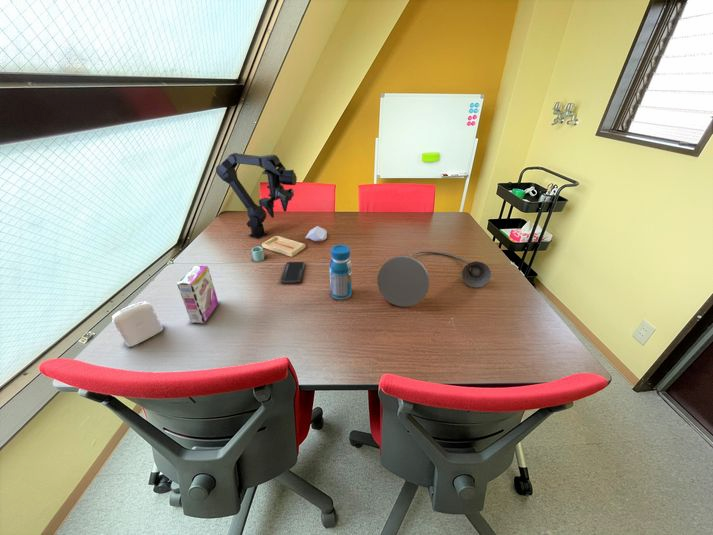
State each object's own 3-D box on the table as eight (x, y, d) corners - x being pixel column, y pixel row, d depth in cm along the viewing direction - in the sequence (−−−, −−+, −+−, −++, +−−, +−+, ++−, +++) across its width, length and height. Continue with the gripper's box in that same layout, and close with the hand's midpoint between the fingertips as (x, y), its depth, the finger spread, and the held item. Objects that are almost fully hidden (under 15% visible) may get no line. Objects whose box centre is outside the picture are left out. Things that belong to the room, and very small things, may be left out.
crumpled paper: (322, 245, 146) (328, 234, 156) (322, 233, 142) (328, 222, 153) (305, 244, 146) (312, 232, 157) (304, 232, 143) (311, 221, 154)
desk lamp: (489, 327, 97) (374, 300, 108) (480, 287, 138) (397, 270, 149) (503, 275, 91) (380, 252, 103) (489, 249, 133) (403, 235, 144)
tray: (262, 247, 143) (261, 243, 142) (276, 239, 151) (276, 235, 150) (291, 256, 135) (291, 253, 134) (305, 247, 143) (305, 243, 142)
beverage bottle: (335, 302, 108) (334, 256, 97) (327, 290, 114) (324, 246, 103) (355, 296, 111) (356, 251, 100) (346, 285, 117) (346, 241, 106)
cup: (251, 259, 133) (249, 250, 130) (258, 254, 137) (257, 245, 134) (259, 262, 131) (257, 252, 128) (266, 257, 135) (265, 248, 132)
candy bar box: (205, 324, 97) (191, 284, 88) (191, 323, 97) (175, 284, 88) (219, 302, 107) (208, 265, 98) (206, 302, 107) (193, 264, 98)
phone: (280, 281, 117) (287, 261, 129) (281, 283, 117) (287, 264, 130) (300, 281, 117) (304, 261, 129) (300, 283, 117) (305, 264, 130)
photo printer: (129, 349, 88) (111, 319, 81) (124, 342, 90) (106, 312, 83) (165, 330, 94) (151, 301, 88) (160, 324, 97) (146, 295, 90)
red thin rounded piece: (274, 241, 145) (292, 236, 144) (275, 242, 146) (292, 236, 144) (275, 254, 141) (293, 248, 140) (276, 254, 142) (294, 248, 141)
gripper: (274, 191, 127) (278, 224, 135) (300, 181, 141) (303, 211, 149) (255, 187, 131) (261, 219, 139) (282, 178, 145) (286, 207, 153)
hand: (279, 214), depth 145 cm, fingers open, 9 cm apart
